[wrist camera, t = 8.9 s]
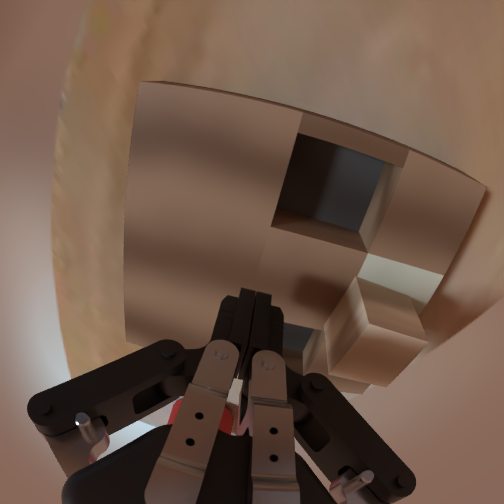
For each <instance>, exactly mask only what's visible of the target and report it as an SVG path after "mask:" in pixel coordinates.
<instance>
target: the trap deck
mask: <svg viewBox="0 0 504 504" xmlns="http://www.w3.org/2000/svg"><path fill="white" fill-rule="evenodd" d="M486 188H487V187H486V186H484V185H483V184H481V183H480V182H478V181H477V180H475V179H474V178H472V177H470V176H469V175H467V174H466V173H464V172H462V171H460V170H458V169H456V168H454V167H452V166H450V165H448V164H446V163H444V162H442V161H440V160H438V159H436V158H433V157H431V156H429V155H427V154H425V153H422V152H420V151H418V150H416V149H413V148H411V147H409V146H406V145H404V144H401V143H399V142H396V141H394V140H391V139H389V138H386V137H384V136H381V135H379V134H376V133H373V132H371V131H368V130H365V129H362V128H360V127H357V126H354V125H351V124H348V123H345V122H342V121H339V120H336V119H333V118H330V117H327V116H323V115H320V114H317V113H314V112H310V111H307V110H303V109H300V108H296V107H292V106H289V105H285V104H281V103H277V102H273V101H269V100H265V99H261V98H256V97H252V96H248V95H243V94H238V93H233V92H228V91H223V90H218V89H212V88H207V87H201V86H194V85H188V84H181V83H174V82H166V81H140V83H139V89H138V95H137V101H136V107H135V114H134V121H133V128H132V136H131V145H130V154H129V164H128V175H127V187H126V202H125V222H124V310H125V330H126V341H127V342H130V343H133V344H136V345H139V346H142V347H147V346H149V345H151V344H153V343H155V342H157V341H160V340H164V339H171V340H175V341H177V342H179V343H180V344H181V345H182V346H183V347H184V348H185V349H198V348H202V347H204V346H205V345H207V344H208V343H209V341H210V339H211V336H212V333H213V329H214V325H215V322H216V318H217V315H218V311H219V308H220V304H221V301H222V300H223V299H224V298H225V297H226V296H227V295H230V296H234V297H239V293H240V290H241V287H242V288H247V289H251V290H255V291H256V292H257V291H259V292H263V293H268V294H272V301H271V305H272V306H277V307H280V308H281V310H282V312H283V314H284V330H283V352H282V357H283V360H284V362H285V364H286V365H287V366H288V367H289V368H290V369H291V370H293V371H294V372H296V373H299V374H301V375H303V376H305V375H306V374H308V373H320V374H322V375H324V376H326V377H327V378H328V379H329V380H330V381H331V382H332V384H333V385H334V386H335V387H336V388H337V389H338V390H339V391H340V392H348V393H356V394H363V393H364V391H365V390H366V389H367V388H368V386H369V385H370V384H368V383H364V382H359V381H355V380H350V379H346V378H341V377H337V376H333V375H329V374H328V362H327V351H326V341H325V331H324V324H325V323H326V321H327V320H328V318H329V317H330V315H331V314H332V312H333V311H334V309H335V308H336V306H337V304H338V303H339V301H340V300H341V298H342V297H343V295H344V294H345V292H346V290H347V289H348V287H349V286H350V284H351V283H352V281H353V279H354V278H355V276H357V277H360V278H362V279H365V280H368V281H370V282H373V283H376V284H378V285H381V286H384V287H386V288H389V289H391V290H394V291H397V292H399V293H402V294H405V295H407V296H409V297H410V299H411V302H412V304H413V306H414V308H415V311H416V313H417V315H418V317H419V316H420V314H421V313H422V311H423V310H424V308H425V307H426V305H427V303H428V302H429V300H430V298H431V297H432V295H433V294H434V292H435V290H436V288H437V287H438V285H439V283H440V282H441V280H442V278H443V276H444V275H445V273H446V271H447V269H448V267H449V266H450V264H451V262H452V260H453V258H454V256H455V254H456V252H457V251H458V249H459V247H460V245H461V243H462V241H463V239H464V237H465V235H466V233H467V231H468V228H469V226H470V224H471V222H472V220H473V218H474V216H475V213H476V211H477V209H478V207H479V204H480V202H481V200H482V197H483V195H484V192H485V190H486ZM255 295H256V294H255ZM239 370H240V369H239ZM238 373H239V372H238Z"/></svg>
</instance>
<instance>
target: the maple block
mask: <svg viewBox="0 0 504 504" xmlns="http://www.w3.org/2000/svg"><path fill="white" fill-rule="evenodd" d="M324 331H325V341H326V351H327V362H328V374H329V375H333V376H337V377H341V378H346V379H350V380H355V381H359V382H364V383H368V384H373V385H378V386H383V387H387V386H388V385H389V384H390V383H391V382H392V381H393V380H394V379H395V378H396V377H397V376H398V375H399V374H400V373H401V372H402V371H403V370H404V369H405V368H406V367H407V366H408V365H409V364H410V363H411V361H412V360H413V359H414V358H415V357H416V356H417V355H418V354H419V353H420V352H421V350H422V349H423V348H424V347H425V346H426V345H427V344H428V343H429V341H428V338H427V336H426V334H425V331H424V329H423V327H422V324H421V322H420V320H419V317H418V315H417V313H416V311H415V308H414V306H413V304H412V302H411V299H410V297H409V296H407V295H405V294H402V293H399V292H397V291H394V290H391V289H389V288H386V287H384V286H381V285H378V284H376V283H373V282H370V281H368V280H365V279H362V278H360V277H357V276H355V278H354V279H353V281H352V283H351V284H350V286H349V287H348V289H347V290H346V292H345V294H344V295H343V297H342V298H341V300H340V301H339V303H338V304H337V306H336V308H335V309H334V311H333V312H332V314H331V315H330V317H329V318H328V320H327V321H326V323H325V324H324Z"/></svg>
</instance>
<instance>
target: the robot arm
mask: <svg viewBox="0 0 504 504" xmlns="http://www.w3.org/2000/svg"><path fill="white" fill-rule="evenodd" d="M255 294H256V295H255ZM271 301H272V294H268V293H263V292H259V291H257V292H256V291H255V290H251V289H247V288H242V287H241V290H240V293H239V297H234V296H230V295H227V296H226V297H225V298H224V299H223V300H222V301H221V304H220V308H219V311H218V315H217V318H216V322H215V325H214V329H213V333H212V336H211V339H210V341H209V343H208V344H207V345H205V346H204V347H202V348H198V349H185V348H184V347H183V346H182V345H181V344H180V343H179V342H177V341H175V340H171V339H164V340H160V341H157V342H155V343H153V344H151V345H149V346H147V347H144V348H142V349H140V350H138V351H136V352H133V353H131V354H129V355H127V356H124V357H122V358H120V359H118V360H115V361H113V362H111V363H109V364H106V365H104V366H102V367H99V368H97V369H95V370H92V371H90V372H88V373H85V374H83V375H81V376H78V377H76V378H74V379H71V380H69V381H67V382H65V383H62V384H59V385H57V386H55V387H52V388H50V389H47V390H45V391H42V392H40V393H37V394H35V395H34V396H33V397H32V398H31V399H30V400H29V402H28V405H27V412H28V415H29V417H30V419H31V420H32V421H33V423H34V424H35V426H36V428H37V430H38V431H39V432H40V434H41V435H42V436H43V438H44V439H45V440H46V441H47V442H48V444H49V446H50V448H51V450H52V451H53V453H54V455H55V457H56V459H57V461H58V462H59V464H60V466H61V468H62V469H63V471H64V472H65V474H66V476H67V478H68V479H67V481H66V482H65V484H64V487H63V490H62V504H392V503H394V502H396V501H399V500H401V499H403V498H404V497H406V496H408V495H410V494H411V493H412V492H413V491H414V489H415V486H416V478H415V476H414V474H413V472H412V471H411V470H410V469H409V468H408V467H407V466H406V465H405V463H404V462H403V461H402V460H401V459H400V458H399V457H398V456H397V455H396V454H395V453H394V452H393V451H392V449H391V448H390V447H389V446H388V445H387V444H386V443H385V442H384V441H383V440H382V438H380V436H379V435H378V434H377V433H376V432H375V431H374V430H373V428H371V426H370V425H369V424H368V423H367V422H366V421H365V420H364V418H362V416H361V415H360V414H359V413H358V412H357V411H356V410H355V409H354V407H353V406H352V405H351V404H350V403H349V402H348V401H347V399H346V398H345V397H344V396H343V395H342V394H341V393H340V392H339V390H338V389H337V388H336V387H335V386H334V385H333V384H332V382H331V381H330V380H329V379H328V378H327V377H326V376H324V375H322V374H320V373H308V374H306V375H305V376H303V375H301V374H299V373H296V372H294V371H293V370H291V369H290V368H289V367H288V366H287V365H286V364H285V362H284V360H283V357H282V352H283V330H284V314H283V312H282V310H281V308H280V307H277V306H272V305H271ZM239 369H240V370H239ZM238 372H239V375H238ZM237 375H238V379H241V380H243V384H242V388H241V391H240V394H239V408H238V423H237V432H236V436H234V435H230V434H228V433H225V432H223V431H221V430H219V429H218V428H219V424H220V421H221V418H222V414H223V411H224V407H225V404H226V401H227V397H228V393H229V390H230V388H231V385H232V382H233V379H234V378H237ZM180 396H184V398H183V400H182V403H181V405H180V408H179V410H178V413H177V415H176V417H175V420H174V422H173V424H168V425H163V426H159V427H157V428H154V429H152V430H151V431H149V432H147V433H145V434H144V435H142V436H140V437H139V438H137V439H135V440H134V441H132V442H130V443H128V444H127V445H125V446H123V447H121V448H120V449H118V450H116V451H114V452H112V453H111V454H109V455H107V456H105V457H103V458H101V459H100V460H98V461H96V460H97V458H98V457H99V455H101V454H102V453H103V452H105V451H106V450H107V448H108V446H109V443H110V440H109V435H111V434H113V433H114V432H116V431H119V430H121V429H122V428H124V427H126V426H128V425H130V424H132V423H134V422H136V421H138V420H140V419H142V418H144V417H145V416H147V415H149V414H151V413H153V412H155V411H156V410H158V409H160V408H162V407H164V406H166V405H167V404H169V403H171V402H173V401H174V400H176V399H178V398H179V397H180ZM294 437H295V438H296V440H297V441H298V442H299V444H300V445H301V446H302V447H303V449H304V450H305V451H306V452H307V454H308V455H309V456H310V457H311V459H312V460H313V461H314V462H315V464H316V465H317V466H318V467H319V469H320V470H321V471H322V472H323V473H324V475H325V476H326V477H327V478H328V480H329V481H330V482H331V485H330V488H329V492H330V493H329V492H328V491H327V489H326V488H325V487H324V486H323V484H322V483H321V482H320V480H319V479H318V478H317V476H316V475H315V474H314V472H313V471H312V470H311V468H310V467H309V466H308V464H307V463H306V462H305V460H304V459H303V458H302V457H301V456H300V455H299V454H297V453H296V452H295V445H294V444H295V443H294Z"/></svg>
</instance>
